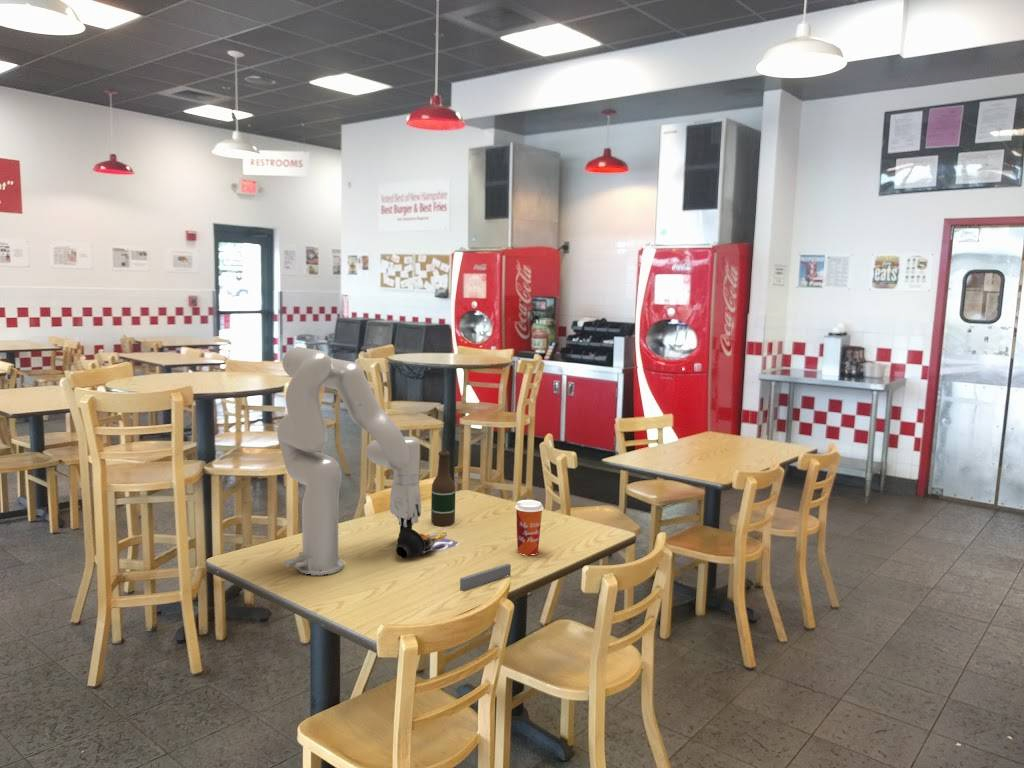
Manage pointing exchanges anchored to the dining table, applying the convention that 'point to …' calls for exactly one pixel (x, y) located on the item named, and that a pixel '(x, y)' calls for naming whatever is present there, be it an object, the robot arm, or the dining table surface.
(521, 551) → the coffee cup
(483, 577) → the rail
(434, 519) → the beer bottle
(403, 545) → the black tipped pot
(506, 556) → the dining table surface
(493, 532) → the dining table surface
